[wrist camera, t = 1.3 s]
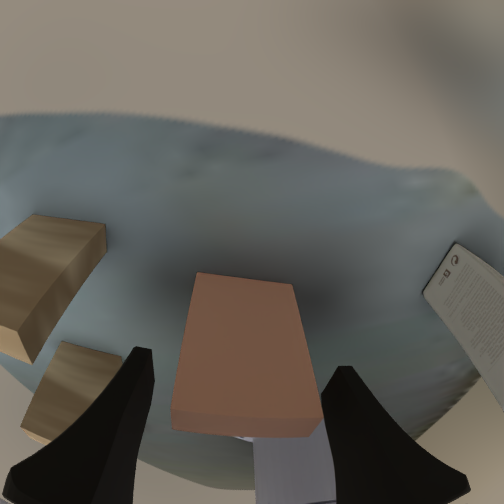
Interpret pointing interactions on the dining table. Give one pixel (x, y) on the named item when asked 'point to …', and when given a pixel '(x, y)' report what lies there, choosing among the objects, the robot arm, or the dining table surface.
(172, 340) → the dining table surface
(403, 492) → the robot arm
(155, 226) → the dining table surface
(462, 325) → the skincare box
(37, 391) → the domino
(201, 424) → the domino
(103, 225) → the domino
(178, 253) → the dining table surface
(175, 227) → the dining table surface
